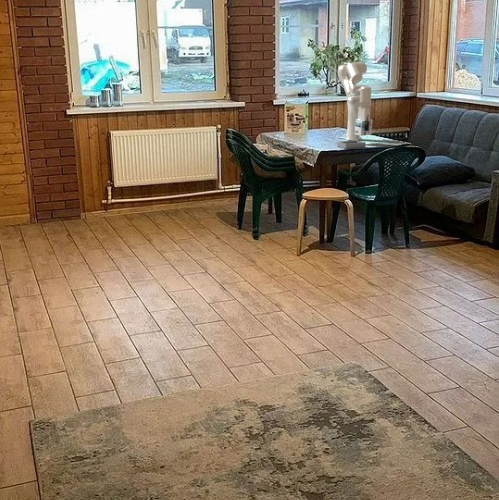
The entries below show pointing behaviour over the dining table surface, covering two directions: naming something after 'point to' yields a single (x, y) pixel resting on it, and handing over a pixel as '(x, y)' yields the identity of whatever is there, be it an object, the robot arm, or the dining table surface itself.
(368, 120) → the robot arm
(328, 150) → the dining table surface
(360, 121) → the light bulb box
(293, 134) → the dining table surface
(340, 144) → the sorting tray
